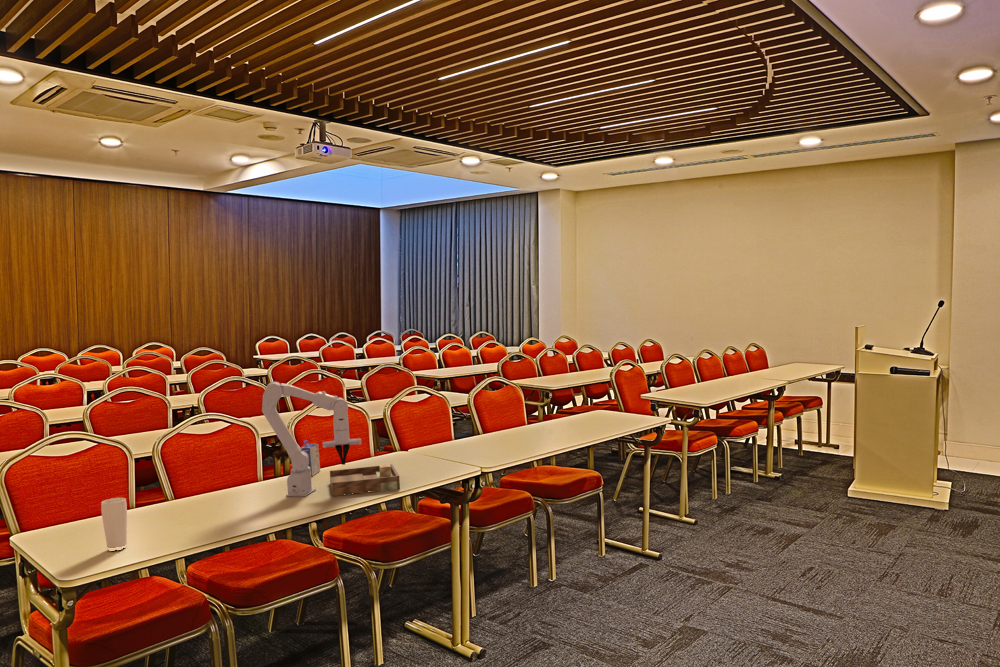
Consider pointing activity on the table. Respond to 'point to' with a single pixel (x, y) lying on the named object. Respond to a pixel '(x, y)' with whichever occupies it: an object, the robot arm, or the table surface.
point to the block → (385, 470)
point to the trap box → (362, 480)
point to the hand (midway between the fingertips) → (343, 464)
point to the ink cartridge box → (312, 456)
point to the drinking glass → (115, 521)
